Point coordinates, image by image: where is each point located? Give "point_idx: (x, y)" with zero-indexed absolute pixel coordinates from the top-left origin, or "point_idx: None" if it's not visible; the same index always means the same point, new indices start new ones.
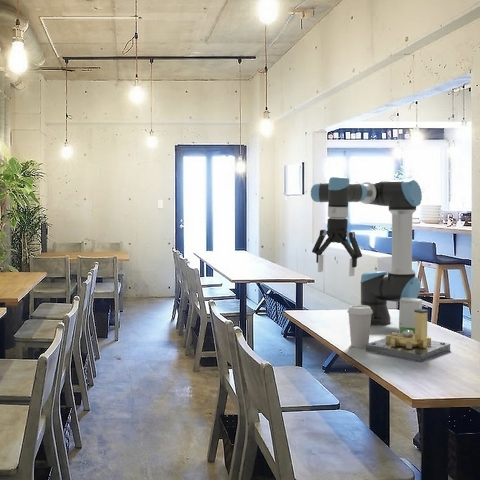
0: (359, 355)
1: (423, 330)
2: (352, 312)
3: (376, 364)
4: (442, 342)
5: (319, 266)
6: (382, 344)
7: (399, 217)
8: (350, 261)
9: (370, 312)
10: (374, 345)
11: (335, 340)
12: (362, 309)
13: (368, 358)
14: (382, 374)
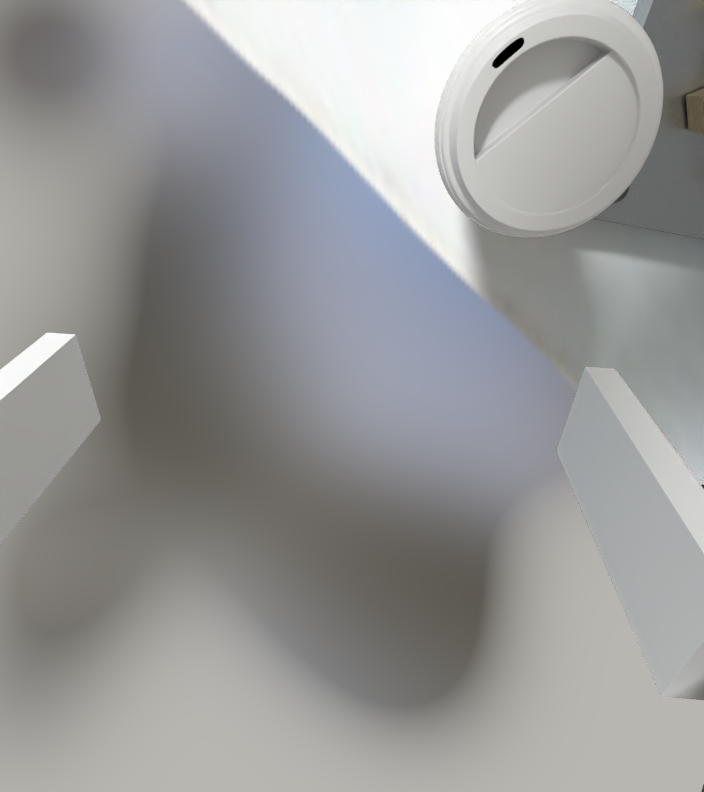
0: (553, 303)
1: None
2: (506, 235)
3: (652, 389)
4: None
5: (57, 472)
6: (668, 167)
7: None
8: (656, 642)
9: (651, 148)
10: (625, 217)
11: (328, 72)
12: (594, 213)
13: (604, 327)
14: None
